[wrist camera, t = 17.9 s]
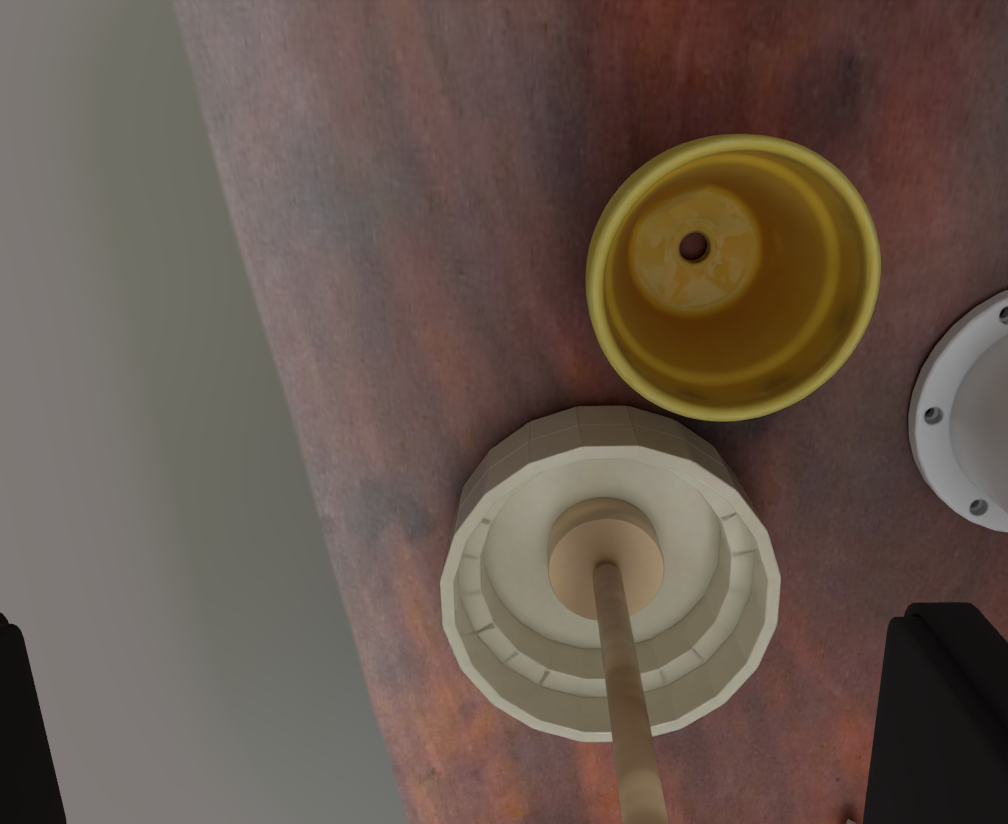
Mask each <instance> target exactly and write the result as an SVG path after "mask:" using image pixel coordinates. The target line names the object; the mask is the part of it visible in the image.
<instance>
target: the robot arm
mask: <svg viewBox="0 0 1008 824" xmlns="http://www.w3.org/2000/svg"><path fill="white" fill-rule="evenodd" d="M1002 309H1004V312H1003V314H1002V315H1000V312H1001V310H1002ZM999 315H1000V316H999ZM930 408H931V410H930V412H929V413H928V414H925V413H926V411H927V410H928V409H930ZM908 425H909V441H910V445H911V449H912V453H913V457H914V461H915V463H916V465H917V467H918V469H919V471H920V473H921V475H922V477H923V479H924V480H925V482H926V483H927V484H928V485H929V486H930V488H931V489H932V490H933V491H934V492H935V494H936V495H937V496H938V497H939V498H940V499H941V500H942V501H944V502H945V503H946V504H947V505H948V506H949V507H950V508H951V509H952V510H953V511H955V512H956V513H958V514H959V515H961V516H963V517H964V518H966V519H967V520H969V521H971V522H973V523H976V524H978V525H981V526H984V527H987V528H989V529H992V530H995V531H1002V532H1008V290H1006V291H1003V292H1000V293H998V294H997V295H995V296H993V297H991V298H990V299H988V300H986V301H985V302H983V303H981V304H980V305H978V306H976V307H975V308H973V309H972V310H971V311H970V312H969V313H967V314H966V315H965V316H964V317H962V318H961V319H960V320H959V321H958V322H956V323H955V324H954V325H953V326H952V327H951V328H950V329H949V331H948V332H947V333H946V334H945V335H944V336H943V338H942V339H941V340H940V341H939V342H938V343H937V344H936V346H935V347H934V349H933V350H932V352H931V354H930V355H929V357H928V359H927V360H926V362H925V364H924V365H923V367H922V369H921V371H920V374H919V376H918V379H917V382H916V384H915V387H914V389H913V392H912V397H911V403H910V409H909V414H908ZM0 824H66V817H65V812H64V808H63V804H62V799H61V796H60V791H59V786H58V782H57V778H56V774H55V770H54V765H53V761H52V757H51V753H50V748H49V744H48V740H47V736H46V731H45V727H44V723H43V719H42V714H41V710H40V706H39V702H38V698H37V693H36V689H35V685H34V680H33V676H32V672H31V667H30V663H29V659H28V655H27V651H26V646H25V642H24V638H23V635H22V632H21V630H20V629H19V628H18V626H16V625H14V624H9V623H8V620H7V619H6V617H5V616H4V615H3V614H2V613H0ZM863 824H1008V643H1007V642H1006V640H1005V639H1004V638H1003V637H1002V636H1001V635H1000V634H999V633H998V631H997V630H996V629H995V628H994V627H993V626H992V625H991V623H990V622H989V621H988V620H987V619H986V618H985V617H984V616H983V614H982V613H981V612H980V611H979V610H978V609H977V608H976V607H975V606H974V605H972V604H971V603H966V602H948V603H912V604H911V605H909V606H908V608H907V610H906V612H905V615H904V617H894V618H892V619H891V621H890V623H889V625H888V630H887V637H886V645H885V653H884V661H883V668H882V676H881V684H880V692H879V700H878V708H877V716H876V723H875V731H874V739H873V747H872V755H871V763H870V770H869V778H868V786H867V794H866V802H865V810H864V817H863Z"/></svg>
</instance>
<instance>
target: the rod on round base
mask: <svg viewBox="0 0 1008 824" xmlns="http://www.w3.org/2000/svg"><path fill="white" fill-rule="evenodd" d="M547 557H548V578H549V582H550V585H551V588H552V590H553V592H554V594H555V596H556V597H557V598H558V600H559V601H560V602H561V603H562V604H563V605H564V606H565V607H566V608H567V609H569V610H570V611H571V612H573V613H575V614H577V615H579V616H581V617H584V618H587V619H590V620H596V621H598V628H599V636H600V644H601V652H602V660H603V668H604V676H605V684H606V692H607V700H608V708H609V716H610V724H611V732H612V740H613V748H614V756H615V764H616V772H617V781H618V789H619V797H620V805H621V813H622V821H623V824H668V819H667V813H666V808H665V803H664V797H663V792H662V787H661V781H660V776H659V771H658V765H657V760H656V755H655V749H654V744H653V739H652V733H651V728H650V723H649V718H648V712H647V707H646V702H645V696H644V691H643V686H642V680H641V675H640V670H639V664H638V659H637V654H636V648H635V643H634V638H633V632H632V627H631V622H630V616H632V615H634V614H636V613H637V612H639V611H641V610H642V609H643V608H645V607H646V606H647V605H648V604H649V603H650V602H651V601H652V600H653V599H654V597H655V596H656V595H657V593H658V591H659V589H660V587H661V585H662V582H663V578H664V560H663V555H662V552H661V548H660V545H659V541H658V538H657V534H656V531H655V529H654V526H653V525H652V523H651V521H650V520H649V518H648V517H647V516H646V515H645V514H644V513H643V512H642V511H641V510H640V509H639V508H637V507H636V506H634V505H632V504H631V503H628V502H626V501H623V500H620V499H616V498H610V497H598V498H591V499H587V500H584V501H581V502H579V503H577V504H575V505H573V506H571V507H570V508H568V509H567V510H566V511H565V512H563V513H562V514H561V515H560V517H559V518H558V519H557V520H556V522H555V523H554V525H553V527H552V529H551V531H550V534H549V538H548V544H547Z"/></svg>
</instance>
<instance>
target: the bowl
mask: <svg viewBox="0 0 1008 824" xmlns="http://www.w3.org/2000/svg"><path fill="white" fill-rule="evenodd" d="M598 497H610V498H616V499H620V500H623V501H626V502H628V503H631V504H632V505H634V506H636V507H637V508H639V509H640V510H641V511H642V512H643V513H644V514H645V515H646V516H647V517H648V518H649V520H650V521H651V523H652V525H653V526H654V529H655V531H656V534H657V538H658V541H659V545H660V548H661V552H662V555H663V560H664V578H663V582H662V585H661V587H660V589H659V591H658V593H657V595H656V596H655V597H654V599H653V600H652V601H651V602H650V603H649V604H648V605H647V606H646V607H645V608H643V609H642V610H641V611H639V612H637V613H636V614H634V615H632V616H630V622H631V627H632V632H633V638H634V643H635V648H636V654H637V659H638V664H639V670H640V675H641V680H642V686H643V691H644V696H645V702H646V707H647V712H648V718H649V723H650V728H651V733H652V737H653V736H657V735H660V734H664V733H668V732H672V731H675V730H679V729H681V728H684V727H685V726H687V725H689V724H691V723H692V722H694V721H696V720H697V719H699V718H701V717H703V716H704V715H706V714H708V713H709V712H711V711H713V710H714V709H716V708H718V707H720V706H721V705H723V704H724V703H726V701H727V700H728V699H729V698H730V697H731V696H732V695H733V694H734V693H735V692H736V691H737V690H738V689H739V687H740V686H741V685H742V684H743V683H744V682H745V681H746V680H747V679H748V678H749V677H750V676H751V675H752V673H753V672H754V671H755V670H756V669H757V667H758V666H759V664H760V661H761V659H762V657H763V655H764V653H765V650H766V648H767V646H768V644H769V642H770V640H771V637H772V635H773V633H774V631H775V629H776V626H777V623H778V610H779V598H780V586H781V575H780V571H779V568H778V564H777V561H776V558H775V554H774V551H773V547H772V544H771V540H770V537H769V533H768V531H767V529H766V527H765V526H764V524H763V522H762V520H761V518H760V516H759V515H758V513H757V511H756V509H755V507H754V506H753V504H752V502H751V500H750V498H749V497H748V495H747V493H746V491H745V489H744V488H743V486H742V484H741V482H740V481H739V479H738V478H737V477H736V475H735V474H734V473H733V471H732V470H731V468H730V467H729V466H728V464H727V463H726V462H725V460H724V459H723V458H722V456H721V455H720V454H719V452H718V451H717V450H716V448H715V447H713V445H711V444H710V443H708V442H707V441H706V440H704V439H703V438H701V437H700V436H698V435H697V434H695V433H694V432H692V431H691V430H689V429H688V428H686V427H685V426H683V425H682V424H681V423H679V422H678V421H676V420H674V419H671V418H668V417H664V416H661V415H658V414H654V413H651V412H647V411H644V410H640V409H637V408H634V407H630V406H578V407H574V408H570V409H567V410H564V411H561V412H558V413H555V414H552V415H549V416H546V417H543V418H540V419H537V420H533V421H531V422H530V423H527V424H526V425H524V426H523V427H521V428H520V429H519V430H517V431H516V432H514V433H513V434H512V435H510V436H509V437H507V438H506V439H505V440H503V441H502V442H500V443H499V444H497V445H496V446H495V447H493V448H492V449H491V450H489V452H488V453H487V454H486V456H485V457H484V459H483V460H482V461H481V463H480V464H479V465H478V467H477V468H476V469H475V471H474V472H473V474H472V475H471V476H470V478H469V479H468V480H467V482H466V483H465V484H464V486H463V488H462V492H461V495H460V498H459V501H458V505H457V508H456V511H455V515H454V518H453V521H452V524H451V528H450V533H449V538H448V543H447V548H446V553H445V558H444V563H443V568H442V573H441V578H440V590H441V607H442V624H443V629H444V631H445V634H446V636H447V638H448V640H449V643H450V645H451V647H452V650H453V652H454V654H455V657H456V659H457V661H458V664H459V666H460V668H461V669H462V671H463V672H464V673H465V674H466V675H467V677H468V678H469V679H470V680H471V681H472V682H473V683H474V684H475V685H476V686H477V688H478V689H479V690H480V691H481V692H482V693H483V694H484V695H485V696H486V698H487V699H488V700H489V701H490V702H491V703H492V704H493V705H494V706H496V707H498V708H499V709H501V710H503V711H504V712H506V713H508V714H509V715H511V716H513V717H514V718H516V719H518V720H519V721H521V722H523V723H525V724H526V725H528V726H530V727H531V728H533V729H536V730H539V731H543V732H547V733H550V734H554V735H558V736H562V737H565V738H569V739H573V740H577V741H580V742H582V741H583V742H613V740H612V732H611V724H610V716H609V708H608V700H607V692H606V684H605V676H604V668H603V660H602V652H601V644H600V636H599V628H598V621H596V620H590V619H587V618H584V617H581V616H579V615H577V614H575V613H573V612H571V611H570V610H569V609H567V608H566V607H565V606H564V605H563V604H562V603H561V602H560V601H559V600H558V598H557V597H556V596H555V594H554V592H553V590H552V588H551V585H550V582H549V578H548V557H547V544H548V538H549V534H550V531H551V529H552V527H553V525H554V523H555V522H556V520H557V519H558V518H559V517H560V515H561V514H562V513H563V512H565V511H566V510H567V509H568V508H570V507H571V506H573V505H575V504H577V503H579V502H581V501H584V500H587V499H591V498H598Z"/></svg>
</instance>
